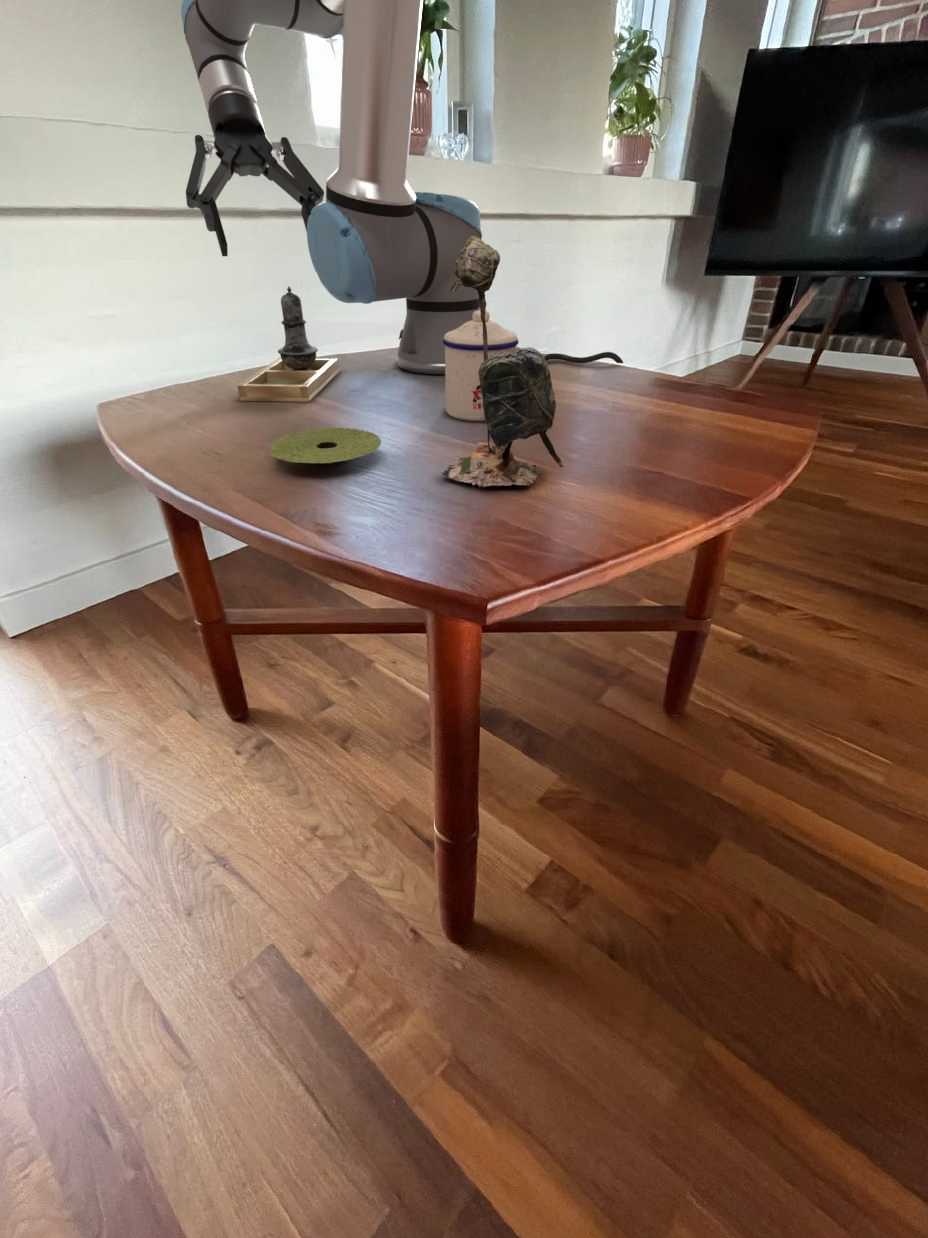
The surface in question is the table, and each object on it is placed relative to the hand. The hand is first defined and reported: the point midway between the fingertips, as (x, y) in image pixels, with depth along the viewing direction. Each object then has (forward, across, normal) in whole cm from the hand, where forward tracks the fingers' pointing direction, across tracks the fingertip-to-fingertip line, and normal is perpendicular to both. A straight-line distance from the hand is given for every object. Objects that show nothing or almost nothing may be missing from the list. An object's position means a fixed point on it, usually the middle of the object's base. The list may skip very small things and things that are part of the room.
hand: (271, 248), depth 93 cm
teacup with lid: (+36, -17, +22) cm, 46 cm away
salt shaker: (+19, +1, -1) cm, 19 cm away
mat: (+42, +7, +30) cm, 52 cm away
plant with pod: (+49, -7, +40) cm, 64 cm away
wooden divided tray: (+22, +3, +2) cm, 22 cm away
